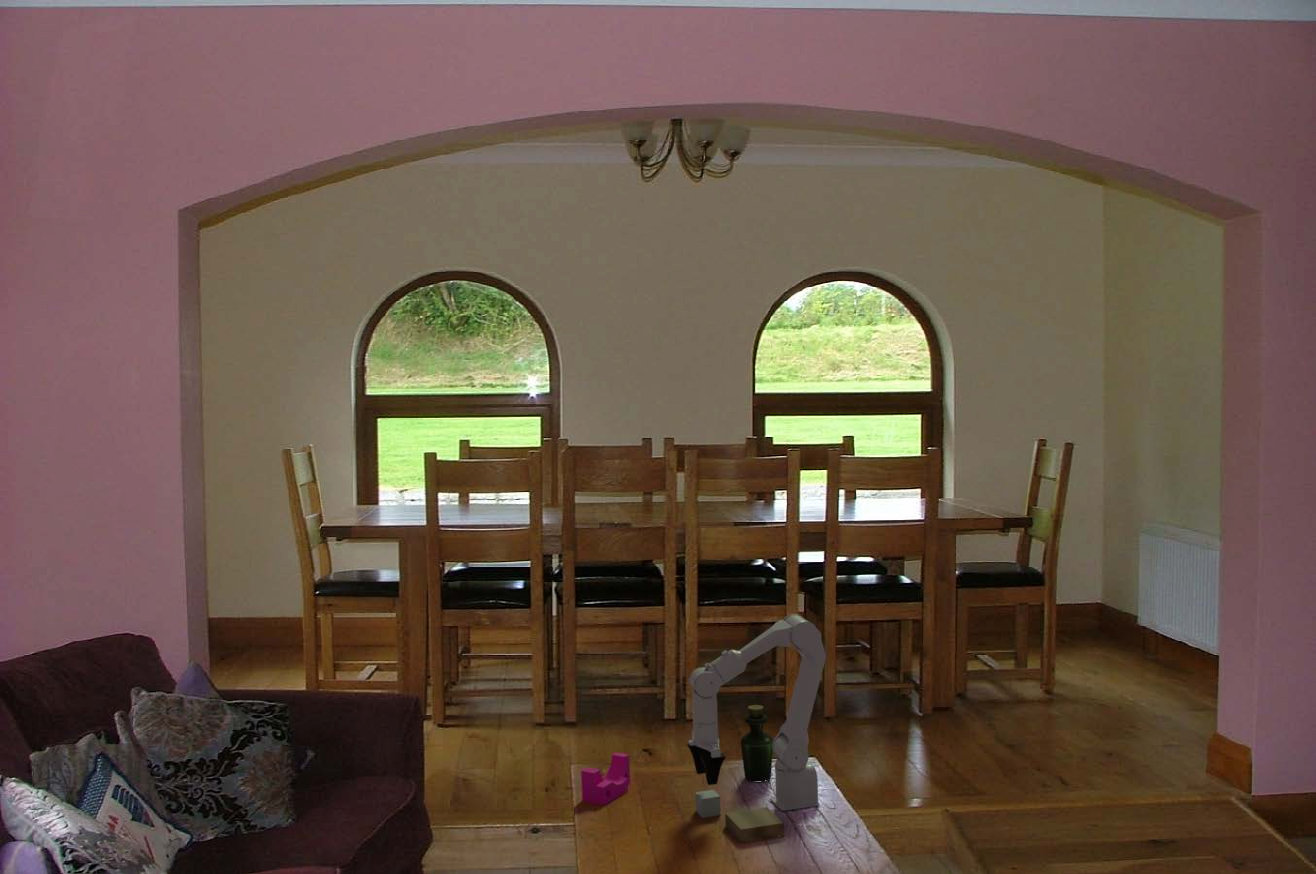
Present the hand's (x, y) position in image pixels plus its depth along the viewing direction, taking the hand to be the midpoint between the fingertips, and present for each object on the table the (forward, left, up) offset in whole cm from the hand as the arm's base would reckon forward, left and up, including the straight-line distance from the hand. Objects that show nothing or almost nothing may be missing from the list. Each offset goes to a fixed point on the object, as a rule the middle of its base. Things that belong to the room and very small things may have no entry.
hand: (706, 778), depth 279 cm
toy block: (+18, -21, -9) cm, 29 cm away
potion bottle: (-19, -17, -8) cm, 27 cm away
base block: (-6, +14, -8) cm, 17 cm away
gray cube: (0, 0, -8) cm, 8 cm away
